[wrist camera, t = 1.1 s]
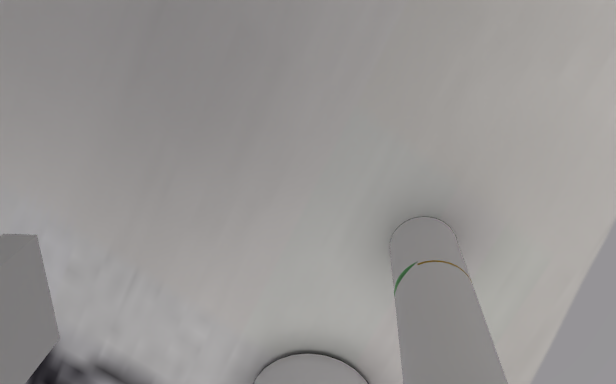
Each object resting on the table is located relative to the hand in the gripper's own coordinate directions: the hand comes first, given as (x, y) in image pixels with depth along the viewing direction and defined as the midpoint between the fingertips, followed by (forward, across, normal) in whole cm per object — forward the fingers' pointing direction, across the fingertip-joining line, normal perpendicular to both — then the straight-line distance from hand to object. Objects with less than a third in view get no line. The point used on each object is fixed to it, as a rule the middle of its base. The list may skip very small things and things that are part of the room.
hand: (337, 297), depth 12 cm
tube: (+22, +5, -10) cm, 24 cm away
